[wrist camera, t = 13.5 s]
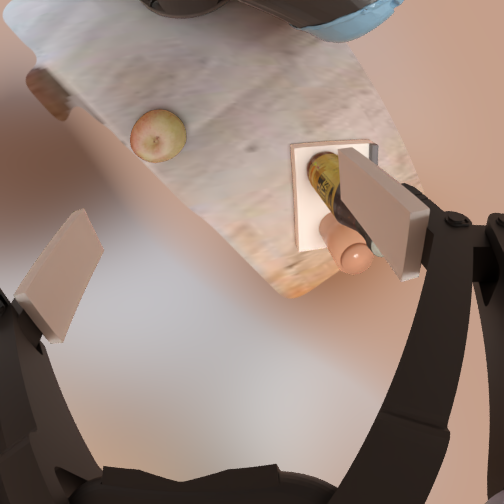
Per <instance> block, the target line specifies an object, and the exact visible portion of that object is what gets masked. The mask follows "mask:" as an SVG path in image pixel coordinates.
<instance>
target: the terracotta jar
mask: <svg viewBox="0 0 504 504" xmlns="http://www.w3.org/2000/svg"><path fill="white" fill-rule="evenodd" d="M319 233H320V235H321V237H322V239H323V241H324V242H325V244H326V246H327V248H328V250H329V251H330V253H331V255H332V257H333V259H334V261H335V262H336V264H337V266H338V268H339V269H340V270H341V271H342V272H344V273H349V274H359V273H362V272H364V271H365V270H366V269H367V268H368V267H369V266H370V265H371V263H372V261H373V256H374V254H373V253H372V252H371V250H370V249H369V248H368V247H367V245H366V241H365V240H364V238H363V237H362V235H360V234H359V233H358V232H357V231H355V230H353V229H351V228H349V227H347V226H344V225H342V224H340V223H339V222H338V221H337V220H336V218H335V217H334V216H333V214H332V213H331V212H330V213H328V214H327V215H325V216H324V218H323V219H322V220H321V222H320V225H319Z"/></svg>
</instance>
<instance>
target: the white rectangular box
mask: <svg viewBox="0 0 504 504" xmlns="http://www.w3.org/2000/svg"><path fill="white" fill-rule="evenodd" d="M290 146H291V160H292V175H293V193H294V212H295V235H296V246H297V248H298V251H299V252H302V251H308V250H315V249H322V248H327V246H326V244H325V242H324V241H323V239H322V237H321V235H320V233H319V225H320V222H321V220H322V219H323V218H324V216H325V215H327V214H328V213H330V212H331V211H330V210H329V209H328V207H327V206H326V205H325V203H324V202H323V200H322V199H321V197H320V196H319V195H318V193H317V192H316V191H315V189H314V188H313V187H312V185H311V184H310V181H309V179H308V175H307V168H308V164H309V162H310V161H311V159H312V158H313V157H314V156H315V155H317V154H319V153H322V152H332V153H334V154H336V155H338V149H341V148H349V147H353V148H354V149H355V150H357V151H358V152H360V153H361V154H362V155H364V156H365V157H367V158H368V159H369V160H371V161H372V162H373V163H375V164H376V165H377V166H378V145H377V144H375V143H373V142H372V141H370V140H343V141H326V142H312V143H300V144H290Z"/></svg>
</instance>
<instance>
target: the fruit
mask: <svg viewBox="0 0 504 504" xmlns="http://www.w3.org/2000/svg"><path fill="white" fill-rule="evenodd" d="M185 142H186V130H185V127H184V125H183V123H182V121H181V120H180V119H179V118H178V117H177V116H175V115H174V114H173V113H171V112H169V111H167V110H161V109H159V110H152V111H149V112H147V113H146V114H144V115H143V116H142V117H141V118H140V119H139V120H138V121H137V122H136V124H135V125H134V127H133V129H132V132H131V137H130V143H131V148H132V150H133V151H134V153H135V154H136V155H137V156H138V157H140V158H141V159H143V160H145V161H148V162H153V163H157V162H163V161H167V160H169V159H171V158H173V157H174V156H176V155H177V154H178V153H179V152H180V151H181V150H182V148H183V146H184V145H185Z"/></svg>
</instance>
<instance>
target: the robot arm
mask: <svg viewBox="0 0 504 504" xmlns="http://www.w3.org/2000/svg"><path fill="white" fill-rule="evenodd" d="M140 1H141V2H142V3H143V4H144V5H145V6H146V7H147V8H149V9H150V10H151V11H153V12H155V13H157V14H159V15H162V16H166V17H170V18H192V17H197V16H201V15H205V14H207V13H210V12H212V11H214V10H216V9H218V8H220V7H221V6H223V5H224V4H225V3H227V2H228V1H229V0H140ZM237 1H240V2H242V3H245V4H247V5H250V6H252V7H255V8H257V9H259V10H262V11H264V12H266V13H268V14H271V15H273V16H275V17H277V18H279V19H281V20H284V21H286V22H288V23H289V25H290V26H291V27H293V28H295V29H297V30H301V31H305V32H307V33H309V34H311V35H313V36H315V37H317V38H319V39H321V40H323V41H326V42H333V43H343V42H348V41H351V40H354V39H356V38H359V37H361V36H363V35H365V34H367V33H368V32H370V31H371V30H373V29H375V28H376V27H377V26H379V25H380V24H382V23H383V22H384V21H385V20H387V18H389V17H390V16H391V15H392V14H393V13H394V8H395V7H397V6H399V5H401V4H402V2H403V1H404V0H237ZM338 160H339V174H340V192H341V200H342V201H343V203H344V204H345V205H346V207H347V208H348V209H349V210H350V212H351V213H352V214H353V216H354V217H355V218H356V219H357V221H358V222H359V223H360V225H361V226H362V227H363V229H364V230H365V231H366V233H367V234H368V235H369V237H370V238H371V240H372V241H373V242H374V244H375V245H376V246H377V248H378V249H379V251H380V252H381V253H382V255H383V256H384V258H385V259H386V260H387V262H388V263H389V265H390V266H391V267H392V269H393V271H394V272H395V274H396V275H397V277H398V278H399V280H400V281H401V282H402V281H405V280H409V279H413V278H416V277H419V273H420V268H421V263H422V265H423V266H424V267H425V268H426V270H427V272H426V276H425V281H424V285H423V289H422V292H421V296H420V300H419V304H418V307H417V311H416V314H415V317H414V321H413V324H412V327H411V330H410V333H409V336H408V340H407V343H406V346H405V348H404V351H403V354H402V357H401V359H400V362H399V365H398V368H397V370H396V373H395V375H394V378H393V381H392V383H391V385H390V388H389V390H388V393H387V395H386V397H385V399H384V402H383V404H382V406H381V408H380V410H379V413H378V415H377V417H376V419H375V421H374V423H373V425H372V427H371V429H370V431H369V433H368V435H367V437H366V439H365V441H364V443H363V445H362V447H361V449H360V451H359V453H358V454H357V456H356V458H355V460H354V461H353V463H352V465H351V467H350V468H349V470H348V472H347V474H346V475H345V477H344V479H343V480H342V482H341V484H340V485H339V487H338V488H337V487H335V486H333V485H331V484H329V483H328V482H325V481H323V480H321V479H318V478H316V477H312V476H309V475H305V474H300V473H294V472H283V471H280V469H279V467H278V466H277V464H273V465H266V466H258V467H249V468H239V469H228V470H225V471H221V472H219V473H215V474H211V475H208V476H205V477H200V478H197V479H193V480H189V481H185V482H177V481H173V480H170V479H166V478H163V477H160V476H156V475H153V474H150V473H147V472H144V471H141V470H136V469H124V468H115V467H107V466H103V471H102V470H101V469H100V468H99V466H98V465H97V463H96V462H95V460H94V458H93V456H92V455H91V453H90V451H89V449H88V447H87V445H86V444H85V442H84V440H83V438H82V436H81V434H80V432H79V430H78V428H77V426H76V424H75V422H74V420H73V417H72V415H71V413H70V411H69V409H68V407H67V404H66V402H65V399H64V397H63V395H62V392H61V390H60V387H59V385H58V382H57V380H56V377H55V374H54V372H53V369H52V366H51V363H50V361H49V357H48V354H47V351H46V349H45V346H44V345H43V343H42V342H41V341H40V339H41V337H42V334H43V335H44V336H45V338H46V339H47V340H48V341H49V342H50V343H51V344H53V343H63V341H64V338H65V336H66V333H67V331H68V328H69V326H70V323H71V321H72V319H73V316H74V314H75V311H76V309H77V307H78V304H79V302H80V300H81V297H82V295H83V293H84V291H85V289H86V287H87V285H88V282H89V280H90V278H91V276H92V274H93V272H94V270H95V268H96V266H97V264H98V262H99V260H100V258H101V256H102V254H103V252H104V249H103V247H102V245H101V243H100V241H99V239H98V237H97V235H96V233H95V231H94V229H93V226H92V225H91V222H90V220H89V218H88V216H87V213H86V211H85V209H84V208H83V209H80V210H77V211H74V212H73V213H72V214H71V215H70V217H69V218H68V219H67V220H66V221H65V223H64V224H63V225H62V227H61V228H60V229H59V230H58V232H57V233H56V234H55V236H54V237H53V238H52V239H51V241H50V242H49V244H48V245H47V246H46V248H45V249H44V251H43V252H42V253H41V255H40V256H39V257H38V259H37V260H36V262H35V263H34V264H33V266H32V268H31V269H30V270H29V272H28V273H27V275H26V276H25V278H24V279H23V281H22V283H21V284H20V286H19V287H18V289H17V291H16V292H15V294H14V297H15V298H14V300H13V301H12V303H10V301H9V300H8V299H7V297H6V296H5V294H4V293H3V292H2V290H1V289H0V504H425V502H426V500H427V497H428V495H429V493H430V491H431V489H432V486H433V484H434V482H435V479H436V477H437V475H438V472H439V470H440V467H441V465H442V462H443V459H444V457H445V454H446V451H447V447H448V444H449V440H450V431H449V430H448V428H447V424H448V420H449V416H450V413H451V409H452V406H453V402H454V397H455V394H456V390H457V386H458V381H459V377H460V372H461V367H462V362H463V357H464V351H465V345H466V339H467V332H468V324H469V315H470V306H471V293H472V282H473V286H474V290H475V294H476V299H477V304H478V309H479V314H480V319H481V325H482V331H483V337H484V344H485V352H486V361H487V369H488V383H489V404H490V437H489V455H488V472H487V495H488V501H487V502H486V503H485V504H504V214H500V213H492V214H490V215H489V217H488V220H487V225H486V226H484V225H472V222H471V221H470V220H469V219H468V218H467V217H466V216H464V215H463V214H460V213H457V212H452V211H446V212H444V211H443V210H441V209H440V208H439V207H438V206H437V205H436V204H434V203H433V202H432V201H431V200H429V199H428V198H427V197H426V196H425V195H424V194H423V195H422V193H421V192H420V191H419V190H417V189H416V188H415V187H413V186H410V185H408V184H406V183H402V184H400V183H399V182H398V181H397V180H395V179H394V178H393V177H392V176H390V175H389V174H388V173H386V172H385V171H384V170H383V169H381V168H380V167H379V166H377V165H376V164H375V163H373V162H372V161H371V160H369V159H368V158H367V157H365V156H364V155H362V154H361V153H360V152H358V151H357V150H355V149H354V148H353V147H349V148H341V149H338Z"/></svg>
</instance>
